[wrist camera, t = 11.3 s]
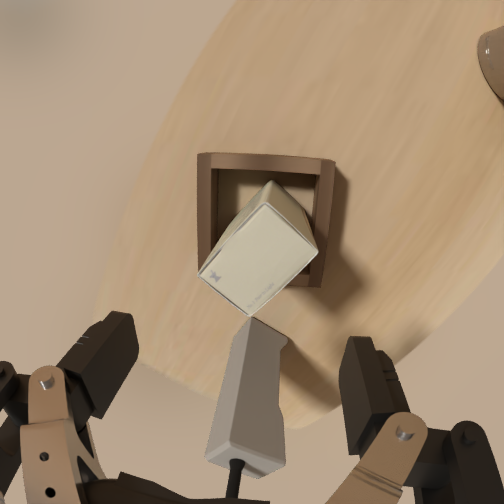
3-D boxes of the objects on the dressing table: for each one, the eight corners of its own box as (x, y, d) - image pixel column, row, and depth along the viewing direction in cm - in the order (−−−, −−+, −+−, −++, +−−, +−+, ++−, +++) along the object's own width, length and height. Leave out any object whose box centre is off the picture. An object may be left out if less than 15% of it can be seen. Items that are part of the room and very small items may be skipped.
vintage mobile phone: (269, 355, 34) (247, 564, 11) (233, 335, 34) (180, 551, 10) (288, 336, 33) (280, 562, 10) (251, 314, 32) (206, 550, 9)
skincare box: (261, 252, 30) (248, 322, 18) (227, 222, 29) (192, 277, 18) (306, 206, 28) (323, 254, 16) (271, 174, 27) (264, 199, 16)
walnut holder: (329, 159, 26) (335, 161, 23) (317, 273, 30) (320, 287, 27) (206, 152, 27) (197, 154, 24) (205, 265, 31) (198, 277, 28)
